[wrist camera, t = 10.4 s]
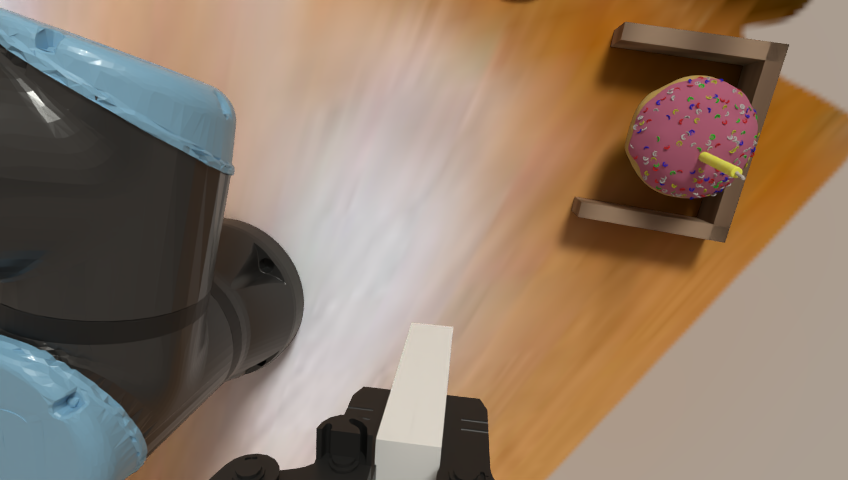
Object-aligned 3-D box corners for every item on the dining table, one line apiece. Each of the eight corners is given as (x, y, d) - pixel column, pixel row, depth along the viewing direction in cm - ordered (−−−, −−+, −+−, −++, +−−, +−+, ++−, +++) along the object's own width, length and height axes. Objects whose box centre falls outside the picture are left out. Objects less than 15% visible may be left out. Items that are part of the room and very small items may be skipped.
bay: (571, 210, 41) (578, 216, 38) (614, 30, 37) (625, 21, 34) (707, 234, 40) (724, 242, 37) (764, 51, 36) (789, 44, 33)
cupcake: (724, 183, 38) (826, 207, 27) (614, 196, 40) (666, 225, 28) (723, 73, 37) (831, 47, 25) (608, 90, 38) (660, 74, 26)
